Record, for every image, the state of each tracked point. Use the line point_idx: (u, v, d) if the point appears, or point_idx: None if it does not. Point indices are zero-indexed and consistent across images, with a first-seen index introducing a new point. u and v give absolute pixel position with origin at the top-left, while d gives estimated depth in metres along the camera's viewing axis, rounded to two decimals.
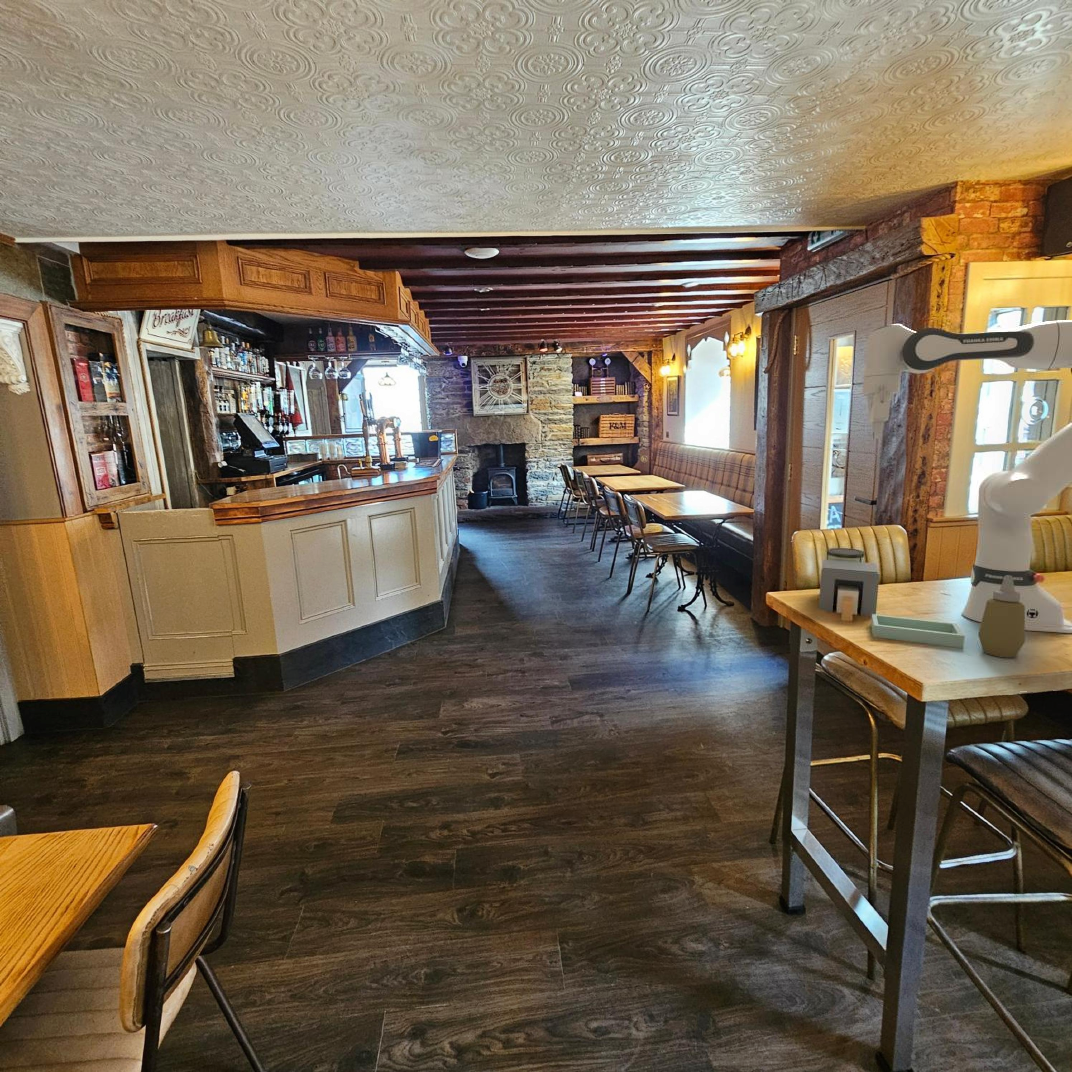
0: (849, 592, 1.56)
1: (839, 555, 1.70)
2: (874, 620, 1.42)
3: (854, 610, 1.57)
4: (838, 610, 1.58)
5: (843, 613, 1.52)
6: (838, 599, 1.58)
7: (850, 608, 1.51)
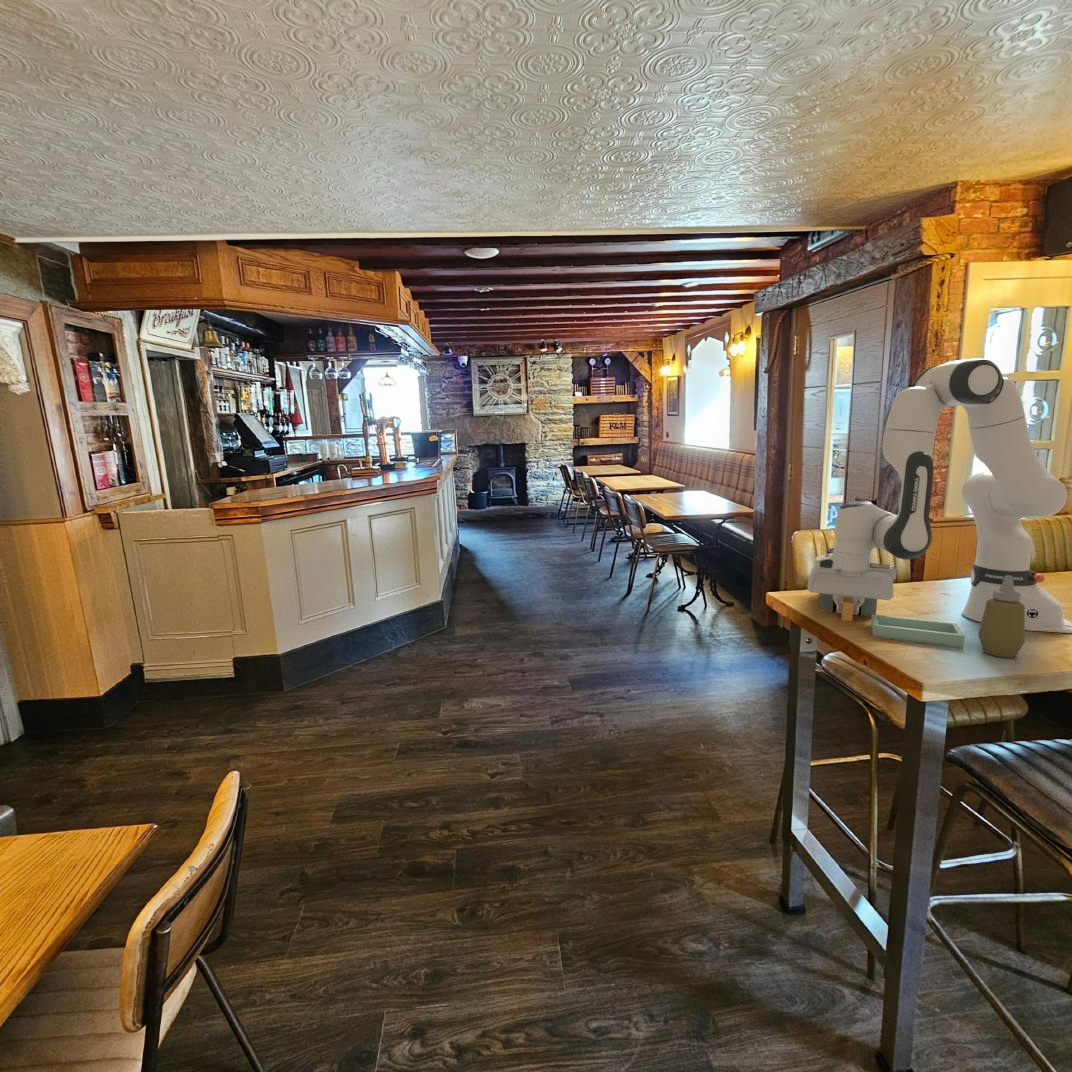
0: None
1: None
2: (874, 620, 1.42)
3: None
4: None
5: (843, 613, 1.52)
6: (838, 599, 1.58)
7: (850, 608, 1.51)
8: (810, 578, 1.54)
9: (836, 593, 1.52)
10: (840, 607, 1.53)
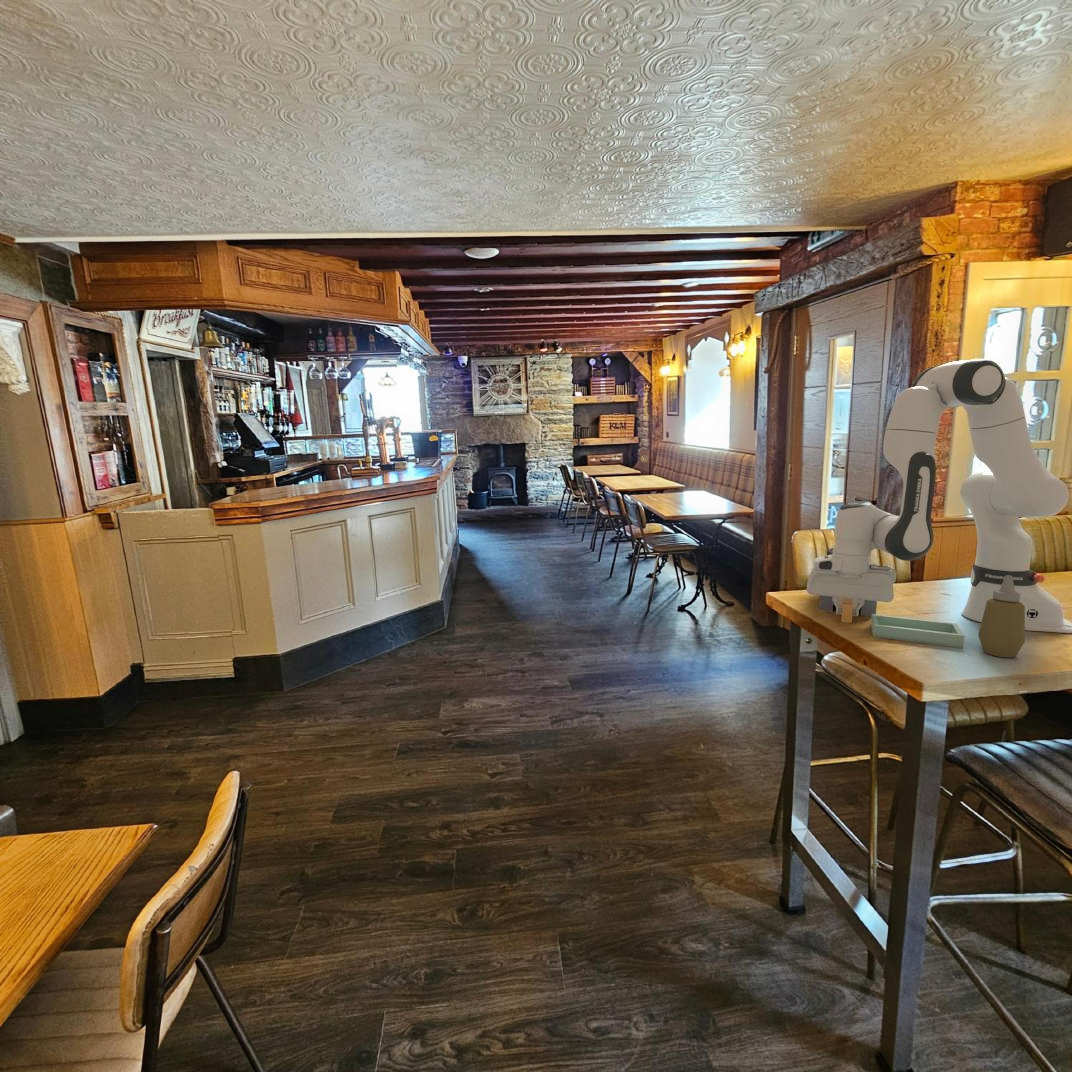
0: None
1: None
2: (874, 620, 1.42)
3: None
4: None
5: (843, 615, 1.50)
6: (838, 600, 1.57)
7: (850, 610, 1.49)
8: (809, 580, 1.52)
9: (835, 595, 1.50)
10: (840, 609, 1.51)
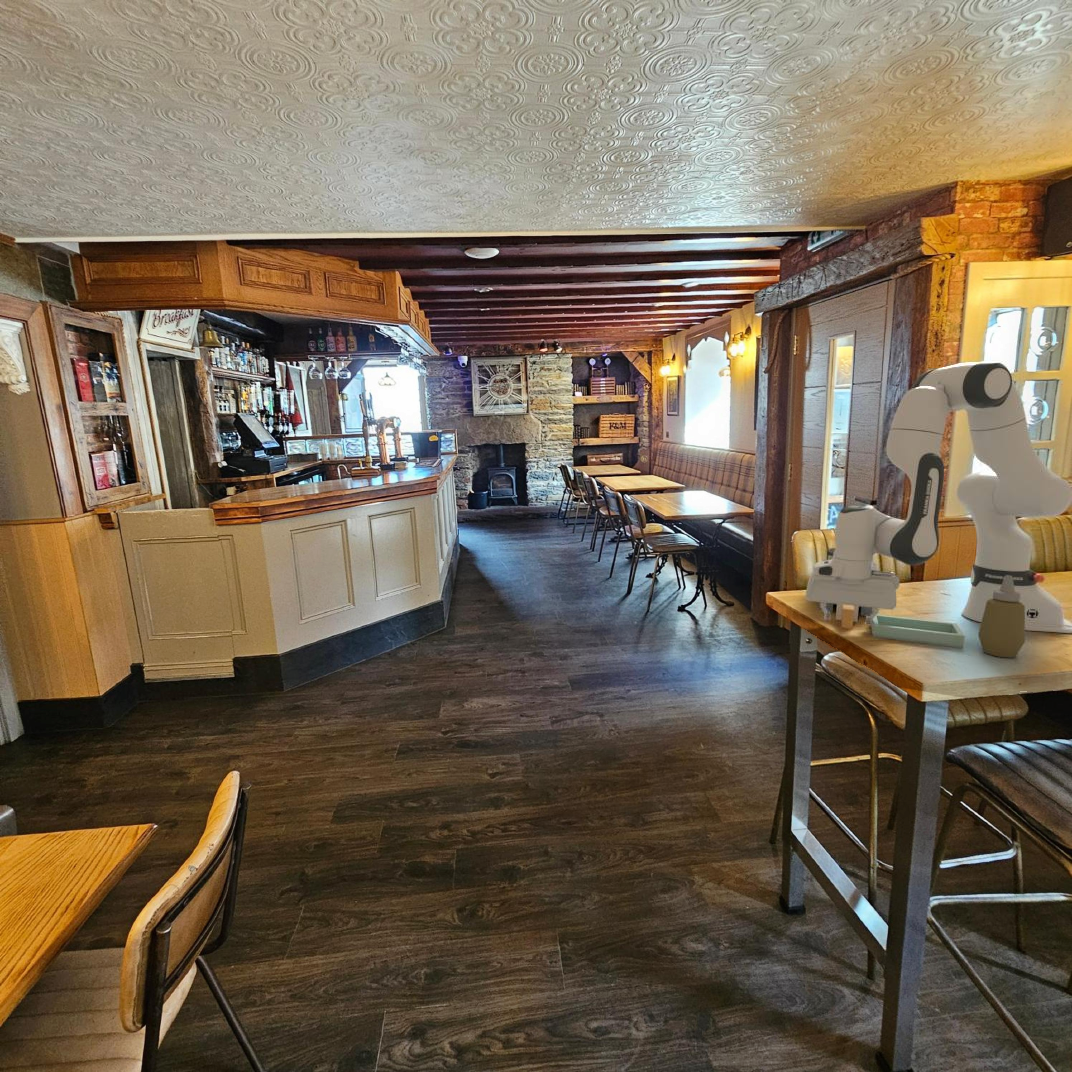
0: None
1: None
2: (874, 620, 1.42)
3: (854, 617, 1.51)
4: (838, 617, 1.53)
5: (843, 620, 1.46)
6: (838, 605, 1.52)
7: (850, 615, 1.45)
8: (808, 586, 1.46)
9: (836, 602, 1.44)
10: (828, 615, 1.46)
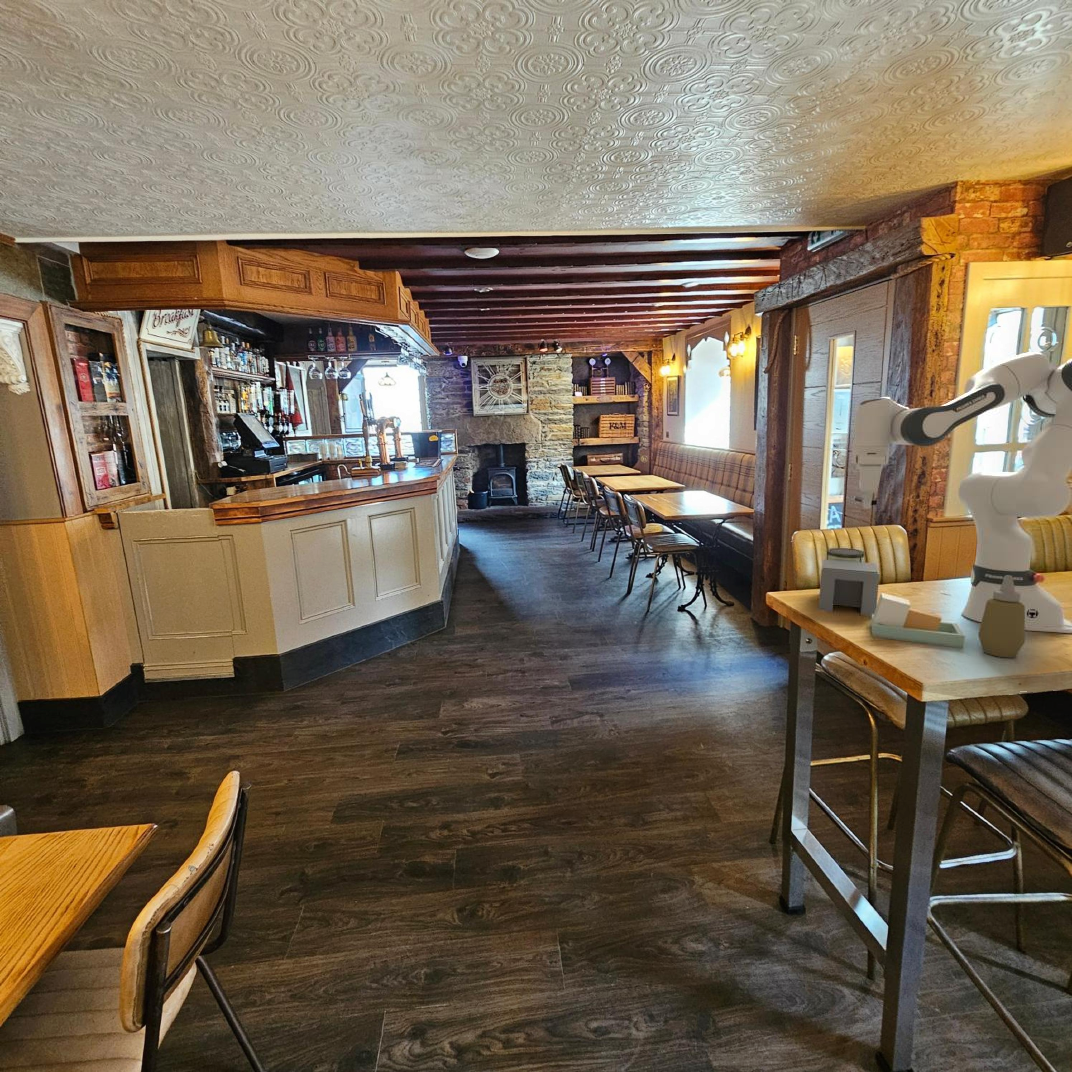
0: None
1: (839, 555, 1.70)
2: None
3: None
4: None
5: None
6: (906, 615, 1.37)
7: None
8: (879, 477, 1.48)
9: None
10: (870, 504, 1.55)
